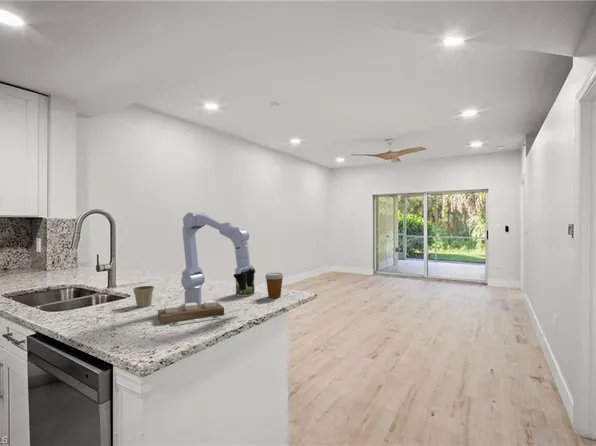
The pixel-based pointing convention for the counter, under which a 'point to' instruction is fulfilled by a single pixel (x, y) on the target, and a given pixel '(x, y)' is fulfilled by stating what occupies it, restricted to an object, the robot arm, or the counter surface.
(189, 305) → the button middle
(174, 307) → the cream square block
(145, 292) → the flower pot
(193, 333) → the counter surface
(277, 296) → the disposable coffee cup
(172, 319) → the brown flat rectangular frame
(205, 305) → the white square block
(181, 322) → the pattern card
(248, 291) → the coffee can
